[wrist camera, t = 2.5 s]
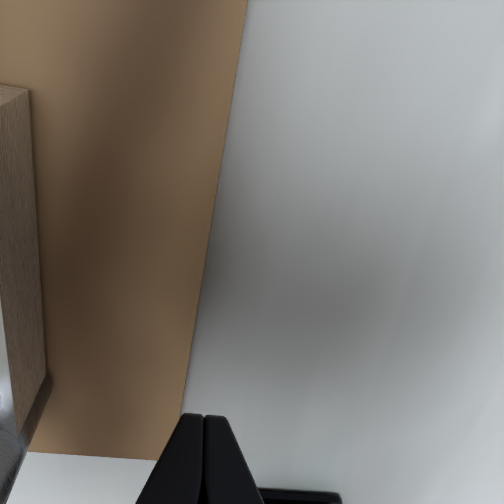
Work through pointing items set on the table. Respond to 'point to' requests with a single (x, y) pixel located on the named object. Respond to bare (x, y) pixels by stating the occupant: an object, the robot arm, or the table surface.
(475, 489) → the table surface
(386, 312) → the table surface
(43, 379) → the bar
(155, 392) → the board
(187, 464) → the robot arm
